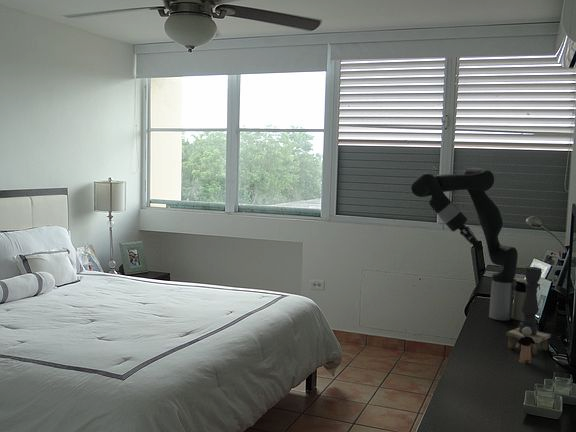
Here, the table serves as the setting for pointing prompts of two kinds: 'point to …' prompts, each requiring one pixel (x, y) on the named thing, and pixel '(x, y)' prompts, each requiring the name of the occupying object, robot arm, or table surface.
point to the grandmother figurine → (526, 345)
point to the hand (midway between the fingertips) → (480, 248)
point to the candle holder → (530, 299)
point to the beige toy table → (537, 338)
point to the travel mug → (519, 299)
